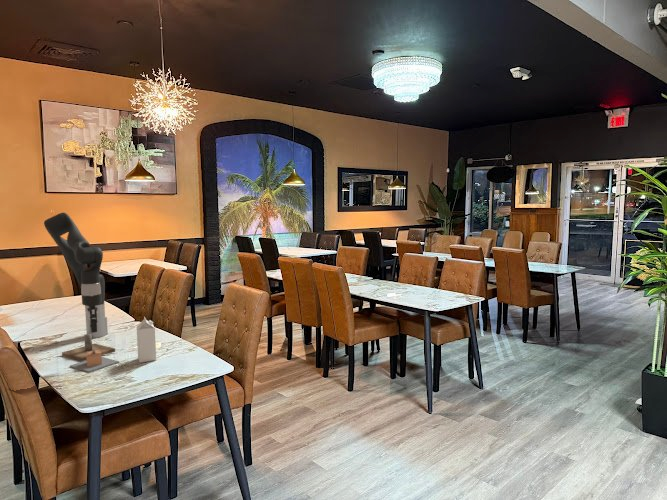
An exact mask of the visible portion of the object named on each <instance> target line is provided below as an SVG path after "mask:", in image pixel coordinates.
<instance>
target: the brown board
mask: <svg viewBox="0 0 667 500" xmlns="http://www.w3.org/2000/svg"><path fill="white" fill-rule="evenodd" d="M83 339H84V346H80V347H77V348H74V349H70V350H66V351H63V352H61V356H62V357H64V358H65V357H66V358H69V359H73V360H76V361H80V362H83V361H86V360H87V357H86V352H87V351H93V350H101V355H102V356H104V355H109V354H111V353H114V352H116V348H114V347H110V346H107V345H103V344H99V343H93V340H92V334H87V333H86V334H84V335H83Z"/></svg>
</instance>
